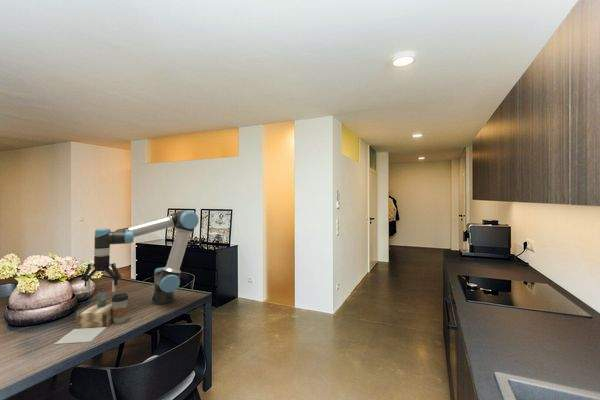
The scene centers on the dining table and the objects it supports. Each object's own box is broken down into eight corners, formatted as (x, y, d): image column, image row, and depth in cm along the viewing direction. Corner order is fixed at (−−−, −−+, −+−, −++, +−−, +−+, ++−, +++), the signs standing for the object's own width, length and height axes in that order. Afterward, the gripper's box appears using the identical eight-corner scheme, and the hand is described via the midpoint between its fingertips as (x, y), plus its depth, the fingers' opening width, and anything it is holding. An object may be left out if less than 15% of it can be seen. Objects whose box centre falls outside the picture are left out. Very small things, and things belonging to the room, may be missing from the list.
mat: (106, 327, 157) (106, 327, 157) (90, 342, 141) (90, 341, 141) (74, 329, 154) (74, 329, 154) (54, 344, 138) (54, 343, 138)
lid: (115, 304, 172) (116, 290, 172) (104, 314, 158) (104, 297, 158) (93, 306, 170) (94, 290, 170) (80, 315, 156) (80, 298, 156)
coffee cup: (110, 325, 160) (110, 298, 160) (112, 320, 167) (112, 294, 167) (127, 323, 163) (127, 296, 163) (128, 317, 171) (128, 292, 171)
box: (119, 315, 174) (119, 301, 174) (106, 327, 158) (106, 311, 158) (92, 316, 171) (92, 302, 171) (76, 328, 155) (76, 313, 155)
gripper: (128, 253, 173) (127, 289, 173) (81, 254, 168) (80, 290, 168) (122, 256, 165) (121, 292, 165) (74, 256, 161) (73, 294, 161)
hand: (101, 291), depth 167 cm, fingers open, 13 cm apart
